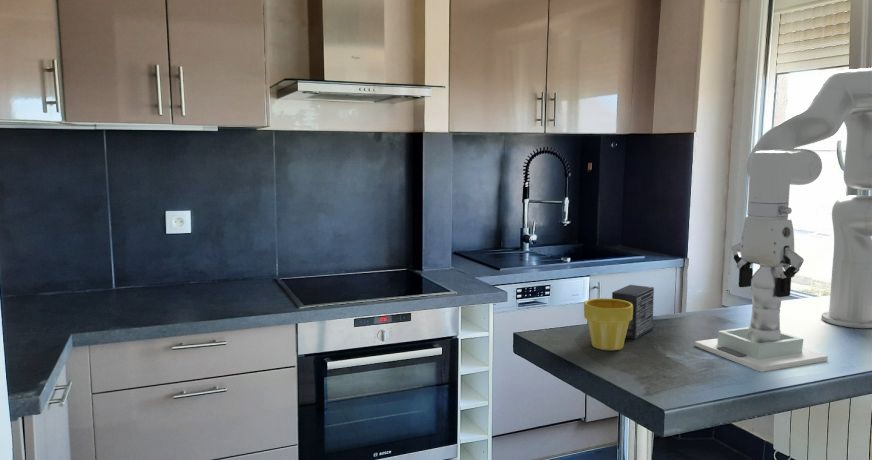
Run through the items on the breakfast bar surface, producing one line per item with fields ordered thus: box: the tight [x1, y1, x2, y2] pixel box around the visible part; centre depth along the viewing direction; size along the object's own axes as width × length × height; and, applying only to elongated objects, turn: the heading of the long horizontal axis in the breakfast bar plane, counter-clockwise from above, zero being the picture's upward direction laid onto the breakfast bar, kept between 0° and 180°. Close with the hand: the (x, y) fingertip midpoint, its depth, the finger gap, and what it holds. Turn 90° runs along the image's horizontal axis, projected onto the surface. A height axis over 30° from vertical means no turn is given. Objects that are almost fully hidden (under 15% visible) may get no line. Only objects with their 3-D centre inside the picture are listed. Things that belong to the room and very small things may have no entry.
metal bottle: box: [747, 263, 783, 343], centre depth 138 cm, size 6×7×20 cm
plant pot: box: [583, 297, 633, 351], centre depth 145 cm, size 10×10×10 cm
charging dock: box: [694, 326, 829, 373], centre depth 140 cm, size 18×18×4 cm
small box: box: [611, 284, 655, 340], centre depth 156 cm, size 11×6×10 cm, turn 141°
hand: (763, 291), depth 139 cm, fingers open, 9 cm apart
